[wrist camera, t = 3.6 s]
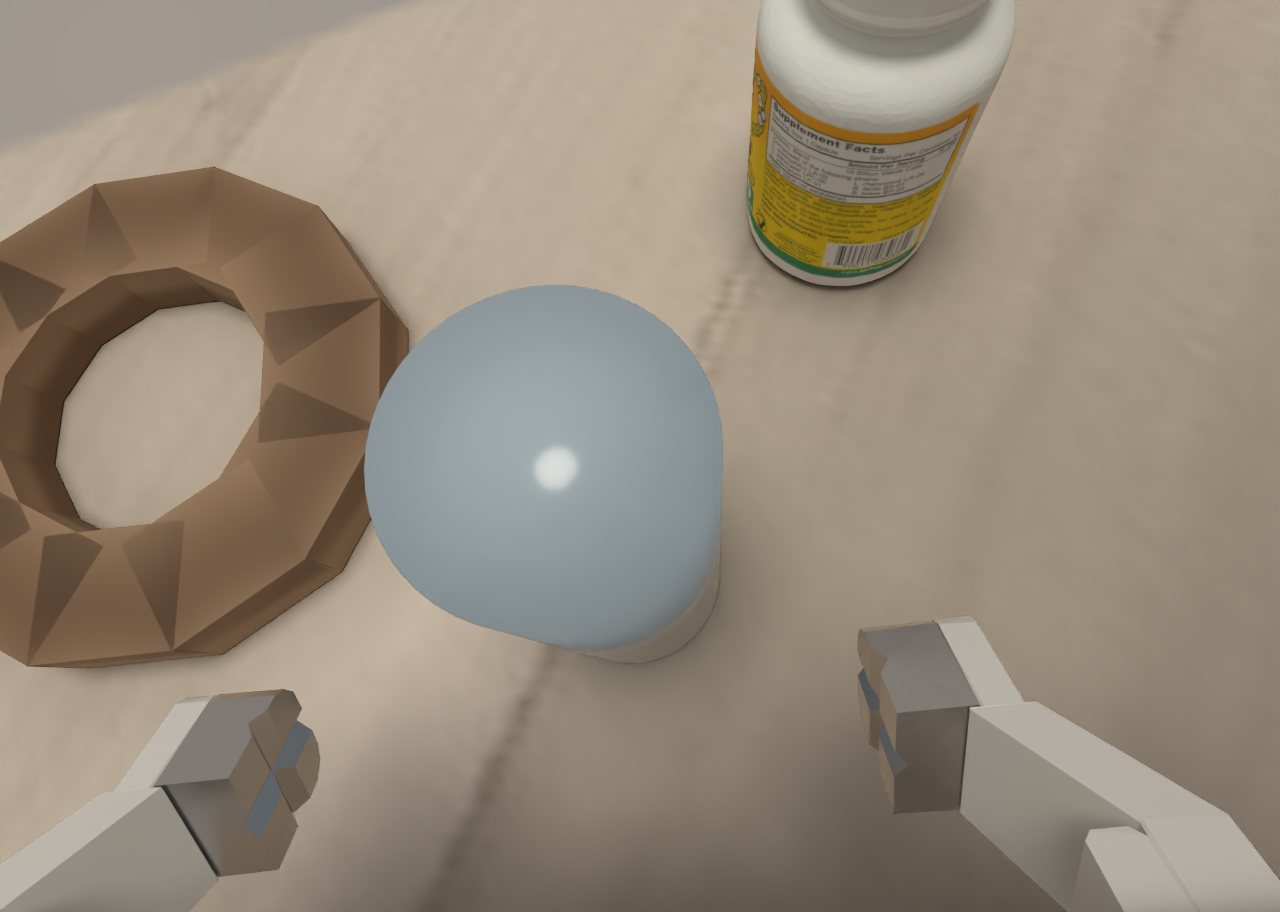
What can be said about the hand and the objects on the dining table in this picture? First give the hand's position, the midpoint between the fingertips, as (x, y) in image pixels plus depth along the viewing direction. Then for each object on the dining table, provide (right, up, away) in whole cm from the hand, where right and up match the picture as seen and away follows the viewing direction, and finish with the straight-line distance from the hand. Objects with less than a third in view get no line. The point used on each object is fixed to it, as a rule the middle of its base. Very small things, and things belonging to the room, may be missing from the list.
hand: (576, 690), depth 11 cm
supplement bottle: (+7, +11, +12) cm, 17 cm away
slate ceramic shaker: (+1, 0, +9) cm, 9 cm away
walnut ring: (-13, +4, +12) cm, 18 cm away
